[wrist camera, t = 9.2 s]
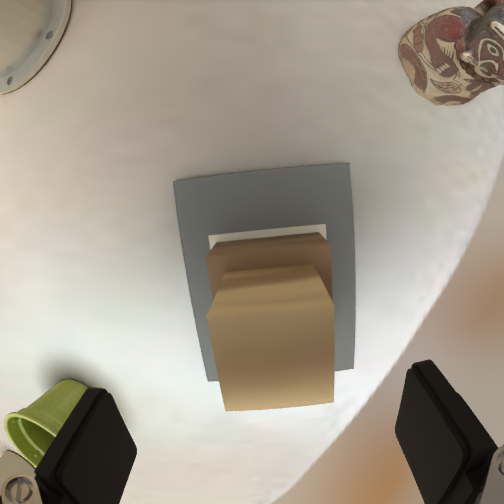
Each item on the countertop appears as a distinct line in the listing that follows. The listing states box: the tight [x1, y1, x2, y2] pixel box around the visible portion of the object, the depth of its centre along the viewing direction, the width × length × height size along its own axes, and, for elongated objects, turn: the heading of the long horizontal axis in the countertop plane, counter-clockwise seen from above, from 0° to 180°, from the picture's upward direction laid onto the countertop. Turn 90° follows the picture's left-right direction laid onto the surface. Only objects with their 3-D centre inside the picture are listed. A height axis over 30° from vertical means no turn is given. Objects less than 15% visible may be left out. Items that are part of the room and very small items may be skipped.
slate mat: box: [173, 163, 355, 381], centre depth 23 cm, size 16×12×1 cm
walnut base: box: [206, 232, 333, 302], centre depth 21 cm, size 7×7×4 cm
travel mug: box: [0, 451, 36, 495], centre depth 25 cm, size 8×8×18 cm
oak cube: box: [207, 263, 335, 411], centre depth 16 cm, size 5×5×6 cm
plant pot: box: [4, 379, 88, 468], centre depth 23 cm, size 9×9×9 cm
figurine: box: [399, 0, 504, 105], centre depth 13 cm, size 7×7×12 cm
